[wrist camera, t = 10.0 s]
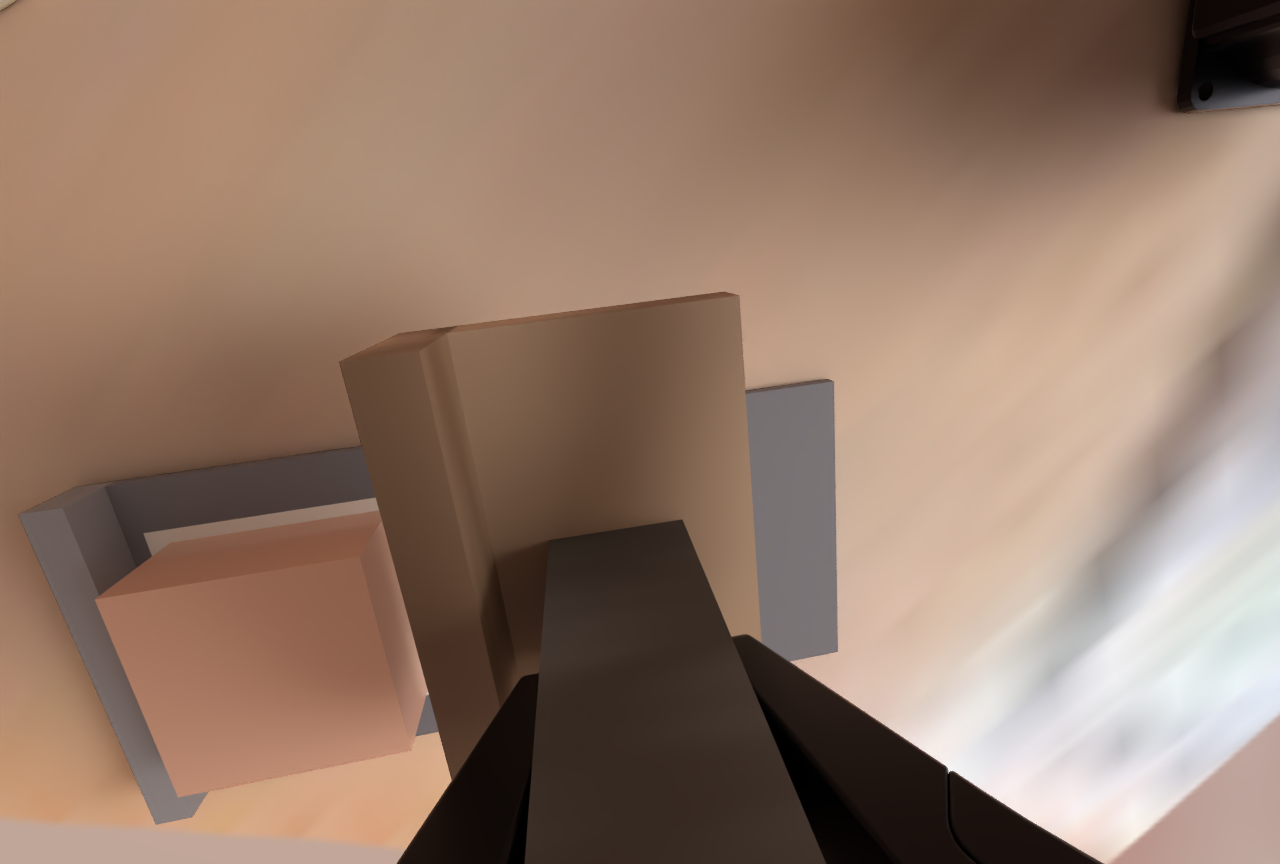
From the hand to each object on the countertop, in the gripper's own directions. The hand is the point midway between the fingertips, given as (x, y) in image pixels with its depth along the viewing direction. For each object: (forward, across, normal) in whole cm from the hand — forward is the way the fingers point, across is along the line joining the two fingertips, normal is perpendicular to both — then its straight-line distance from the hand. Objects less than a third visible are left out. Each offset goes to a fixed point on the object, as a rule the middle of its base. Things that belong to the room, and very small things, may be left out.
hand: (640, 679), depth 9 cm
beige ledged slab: (+4, 0, 0) cm, 4 cm away
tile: (+10, +9, +4) cm, 14 cm away
